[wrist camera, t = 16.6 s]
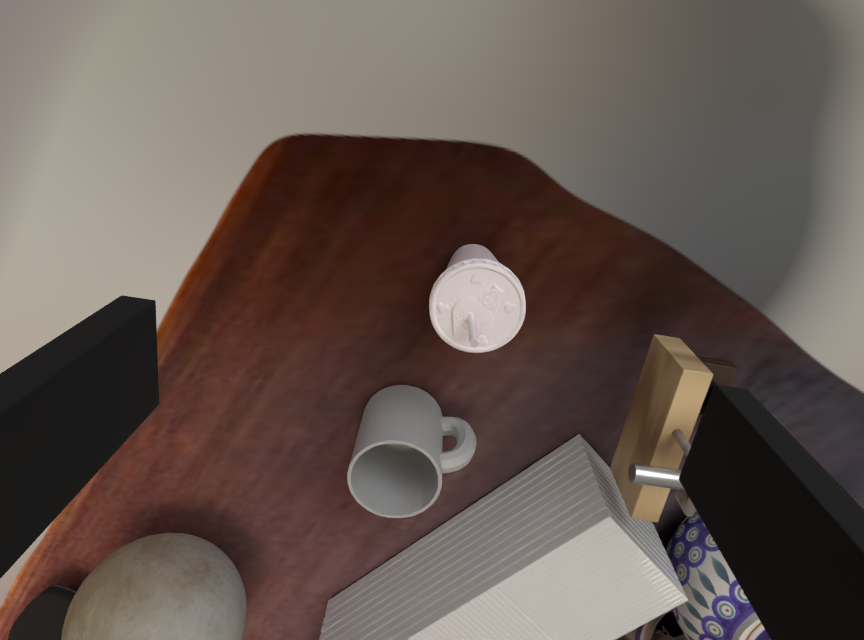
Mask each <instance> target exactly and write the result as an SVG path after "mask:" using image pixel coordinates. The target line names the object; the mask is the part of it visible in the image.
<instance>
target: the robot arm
mask: <svg viewBox="0 0 864 640" xmlns="http://www.w3.org/2000/svg"><path fill="white" fill-rule="evenodd" d="M158 405H159V389H158V361H157V333H156V305H155V300H148V299H142V298H135V297H128V296H120V297H119V298H117V299H115V300H114V301H112V302H111V303H109V304H108V305H106V306H105V307H103V308H102V309H100V310H99V311H97V312H95V313H94V314H92V315H91V316H89V317H88V318H86V319H85V320H83V321H81V322H80V323H79V324H77V325H75V326H74V327H72V328H71V329H69V330H67V331H66V332H64V333H63V334H61V335H60V336H58V337H57V338H55V339H53V340H52V341H50V342H49V343H47V344H46V345H44V346H43V347H41V348H39V349H38V350H36V351H35V352H33V353H32V354H30V355H29V356H27V357H25V358H24V359H22V360H21V361H19V362H18V363H16V364H15V365H13V366H12V367H10V368H8V369H7V370H6V371H4V372H2V373H1V374H0V578H1V577H2V576H3V575H4V574H5V573H6V572H7V571H8V570H9V569H10V567H11V566H12V565H13V564H14V563H15V562H16V561H17V560H18V559H19V558H20V556H21V555H22V554H23V553H24V552H25V551H26V550H27V549H28V548H29V546H30V545H31V544H32V543H33V542H34V541H35V540H36V539H37V538H38V537H39V536H40V534H41V533H42V532H43V531H44V530H45V529H46V528H47V527H48V526H49V525H50V523H51V522H52V521H53V520H54V519H55V518H56V517H57V516H58V515H59V514H60V512H61V511H62V510H63V509H64V508H65V507H66V506H67V505H68V504H69V503H70V501H71V500H72V499H73V498H74V497H75V496H76V495H77V494H78V493H79V492H80V490H81V489H82V488H83V487H84V486H85V485H86V484H87V483H88V482H89V481H90V479H91V478H92V477H93V476H94V475H95V474H96V473H97V472H98V471H99V470H100V468H101V467H102V466H103V465H104V464H105V463H106V462H107V461H108V460H109V459H110V457H111V456H112V455H113V454H114V453H115V452H116V451H117V450H118V449H119V448H120V446H121V445H122V444H123V443H124V442H125V441H126V440H127V439H128V438H129V437H130V435H131V434H132V433H133V432H134V431H135V430H136V429H137V428H138V427H139V426H140V424H141V423H142V422H143V421H144V420H145V419H146V418H147V417H148V416H149V415H150V413H151V412H152V411H153V410H154V409H155V408H156V407H157V406H158ZM679 481H680V483H681V484H682V486H683V488H684V490H685V491H686V493H687V495H688V496H689V498H690V500H691V502H692V503H693V505H694V507H695V509H696V510H697V512H698V514H699V516H700V517H701V519H702V521H703V523H704V524H705V526H706V528H707V529H708V531H709V533H710V535H711V536H712V538H713V540H714V542H715V543H716V545H717V547H718V549H719V550H720V552H721V554H722V556H723V557H724V559H725V561H726V562H727V564H728V566H729V568H730V569H731V571H732V573H733V575H734V576H735V578H736V580H737V582H738V583H739V585H740V587H741V589H742V590H743V592H744V594H745V595H746V597H747V599H748V601H749V602H750V604H751V606H752V608H753V609H754V611H755V613H756V615H757V616H758V618H759V620H760V622H761V623H762V625H763V627H764V628H765V630H766V632H767V634H768V635H769V637H770V639H771V640H864V510H863V509H862V508H861V507H860V506H859V505H858V503H857V502H856V501H855V500H854V499H853V498H852V497H851V496H850V495H849V494H848V493H847V492H846V491H845V490H844V489H843V488H842V487H841V486H840V485H839V484H838V483H837V482H836V481H835V480H834V479H833V478H832V477H831V476H830V475H829V474H828V473H827V471H826V470H825V469H824V468H823V467H822V466H821V465H820V464H819V463H818V462H817V461H816V460H815V459H814V458H813V457H812V456H811V455H810V454H809V453H808V452H807V451H806V450H805V449H804V448H803V447H802V446H801V445H800V444H799V443H798V442H797V440H796V439H795V438H794V437H793V436H792V435H791V434H790V433H789V432H788V431H787V430H786V429H785V428H784V427H783V426H782V425H781V424H780V423H779V422H778V421H777V420H776V419H775V418H774V417H773V416H772V415H771V414H770V413H769V412H768V411H767V410H766V408H765V407H764V406H763V405H762V404H761V403H760V402H759V401H758V400H757V399H756V398H755V397H754V396H753V395H752V394H751V393H750V392H749V391H748V390H747V389H743V388H737V387H730V386H723V385H716V384H715V386H714V388H713V391H712V393H711V396H710V399H709V401H708V404H707V406H706V409H705V412H704V414H703V417H702V419H701V422H700V424H699V427H698V430H697V432H696V435H695V437H694V440H693V443H692V445H691V448H690V450H689V453H688V456H687V458H686V461H685V463H684V466H683V469H682V471H681V474H680V476H679Z"/></svg>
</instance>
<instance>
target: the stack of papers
mask: <svg viewBox="0 0 864 640" xmlns="http://www.w3.org/2000/svg"><path fill="white" fill-rule="evenodd" d="M658 536H659V535H658V533H657V531H656V529H655V527H654V524H653V522H652V521H645V520H639V519H632V518H631V517H630V514H629V512H628V510H627V507H626V505H625V503H624V500H623V498H622V495H621V493H620V491H619V488H618V486H617V484H616V481H615V479H614V476H613V474H612V472H611V469H610V467H609V466H608V465H607V464H606V463H605V462H604V461H603V459H602V458H601V457H600V456H599V455H598V454H597V453H596V452H595V451H594V449H593V448H592V447H591V446H590V445H589V444H588V443H587V442H586V441H585V440H584V438H583V437H582V436H581V435H580V434H578V435H577V436H575V437H574V438H572V439H571V440H569V441H568V442H566V443H565V444H563V445H561V446H560V447H558V448H557V449H555V450H554V451H552V452H551V453H549V454H548V455H546V456H545V457H543V458H542V459H540V460H539V461H537V462H536V463H534V464H533V465H531V466H530V467H528V468H527V469H525V470H524V471H522V472H521V473H519V474H518V475H516V476H515V477H513V478H512V479H510V480H509V481H507V482H506V483H504V484H503V485H501V486H500V487H498V488H497V489H495V490H494V491H492V492H491V493H489V494H488V495H486V496H485V497H483V498H482V499H480V500H479V501H477V502H476V503H474V504H473V505H471V506H470V507H468V508H467V509H465V510H464V511H462V512H461V513H459V514H458V515H456V516H455V517H453V518H452V519H450V520H449V521H447V522H446V523H444V524H443V525H441V526H440V527H438V528H437V529H435V530H434V531H432V532H431V533H429V534H428V535H426V536H425V537H423V538H422V539H420V540H419V541H417V542H416V543H414V544H413V545H411V546H410V547H408V548H407V549H405V550H404V551H402V552H401V553H399V554H398V555H396V556H395V557H393V558H391V559H390V560H388V561H387V562H385V563H384V564H382V565H381V566H379V567H378V568H376V569H375V570H373V571H372V572H370V573H369V574H367V575H366V576H364V577H363V578H361V579H360V580H358V581H357V582H355V583H354V584H352V585H351V586H349V587H348V588H346V589H345V590H343V591H342V592H340V593H339V594H337V595H336V596H334V597H333V598H331V599H330V600H328V604H327V608H328V609H326V612H325V616H326V617H324V621H323V624H324V625H323V626H322V629H321V633H322V634H320V638H319V640H616V639H617V638H619V637H621V636H623V635H625V634H627V633H629V632H630V631H632V630H634V629H636V628H638V627H640V626H642V625H644V624H645V623H647V622H649V621H651V620H653V619H655V618H657V617H658V616H660V615H662V614H664V613H666V612H668V611H670V610H671V609H673V608H675V607H677V606H679V605H681V604H683V603H685V602H686V601H688V598H687V596H686V594H685V592H684V591H683V590H682V589H683V587H682V585H681V583H680V581H679V580H678V577H677V574H676V572H675V571H674V568H673V566H672V564H671V562H670V559H669V557H668V555H667V554H666V550H665V548H664V546H663V545H662V542H661V540H660V538H659V537H658Z"/></svg>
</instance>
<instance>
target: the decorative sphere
mask: <svg viewBox="0 0 864 640" xmlns="http://www.w3.org/2000/svg"><path fill="white" fill-rule="evenodd" d="M245 623H246V595H245V588H244V585H243V582H242V579H241V576H240V574H239V572H238V571H237V569H236V567H235V565H234V563H233V562H232V561H231V560H230V558H229V557H228V556H227V555H226V554H225V553H224V552H223V551H222V550H221V549H219V548H218V547H217V546H215V545H214V544H212V543H211V542H209V541H207V540H205V539H203V538H200V537H197V536H194V535H190V534H185V533H162V534H155V535H150V536H146V537H143V538H140V539H138V540H135V541H132V542H130V543H128V544H126V545H124V546H122V547H120V548H119V549H117V550H116V551H114V552H113V553H111V554H110V555H109V556H108V557H106V558H105V559H104V560H103V561H102V562H100V563H99V564H98V565H97V566H96V567H95V568H94V569H93V570H92V572H91V573H90V574H89V575H88V576H87V577H86V579H85V580H84V581H83V583H82V584H81V586H80V587H79V589H78V591H77V592H76V594H75V595H74V597H73V599H72V601H71V603H70V605H69V608H68V611H67V614H66V617H65V621H64V625H63V629H62V637H61V640H242V636H243V632H244V628H245Z"/></svg>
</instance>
